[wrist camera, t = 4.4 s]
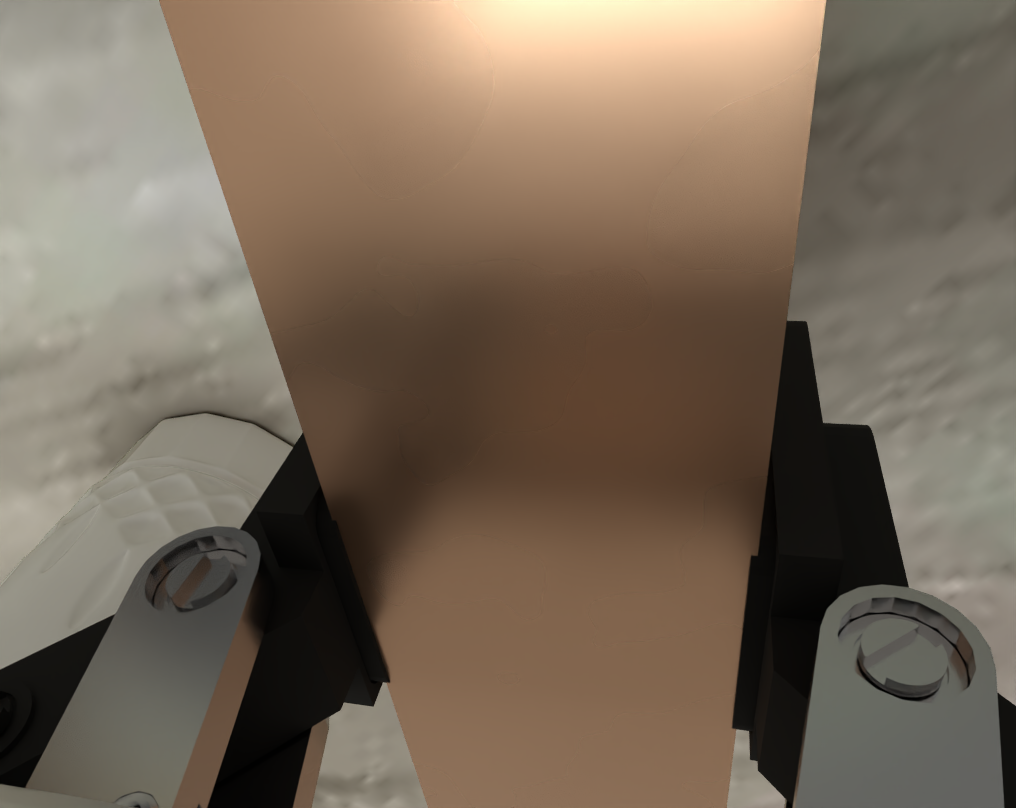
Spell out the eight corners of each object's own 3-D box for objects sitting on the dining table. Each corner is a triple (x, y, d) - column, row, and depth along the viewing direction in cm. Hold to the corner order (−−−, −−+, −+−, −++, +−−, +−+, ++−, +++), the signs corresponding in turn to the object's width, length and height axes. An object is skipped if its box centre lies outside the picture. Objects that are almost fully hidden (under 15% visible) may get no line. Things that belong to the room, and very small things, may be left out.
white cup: (205, 350, 22) (-39, 651, 14) (403, 516, 25) (289, 839, 17) (76, 467, 26) (-171, 754, 18) (260, 599, 29) (115, 894, 21)
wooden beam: (291, -517, 6) (-144, -831, 3) (840, -652, 5) (1010, -1303, 2) (514, 728, 17) (467, 942, 14) (711, 756, 16) (707, 993, 13)
